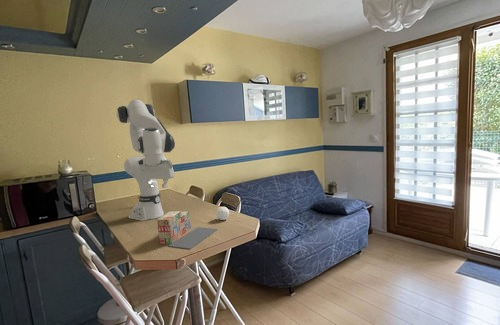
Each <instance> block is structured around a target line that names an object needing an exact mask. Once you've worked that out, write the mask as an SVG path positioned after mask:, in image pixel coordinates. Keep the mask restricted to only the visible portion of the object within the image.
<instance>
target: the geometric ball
mask: <svg viewBox="0 0 500 325" xmlns="http://www.w3.org/2000/svg"><path fill="white" fill-rule="evenodd" d="M215 216H216V218H217V219H218V220H219V221H226V219H227V220H228V218H229V216H230V210H229V209H228V207H226V206H220V207H218V208H217V209H216V212H215Z"/></svg>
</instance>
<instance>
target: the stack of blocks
mask: <svg viewBox="0 0 500 325" xmlns="http://www.w3.org/2000/svg"><path fill="white" fill-rule="evenodd" d="M189 212H190V211H181V210H177V211H176V210H175V211H173V210H171V211H168V212H166V213H164V215H163V216H161V217H158V218H156V219H157V220H156V221H157V230H158V239H159V245H170V244H172V243H173V242H175V241H177V240H178V239H180V238H181V237H183V236H184V235H185V233H186V232H188V231H189V230H190V229H191V218H190V213H189Z"/></svg>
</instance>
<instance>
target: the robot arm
mask: <svg viewBox="0 0 500 325" xmlns="http://www.w3.org/2000/svg"><path fill="white" fill-rule="evenodd" d="M116 118H117V119H118V121H119V122H120V123H122V124H127V123H128V124H129V123H130V124H129V135H130V136H129V137H130V141H131V145H132V149H133V150H134V151H135V152H136V153H139V154H141V155H139V156H133V157H129V158H126V159H125V161H124V164H123V168H124V171H125V173H127V174H128V175H130V176H131V177H132V178H134V179H135V181H136V182H137V184H138V188H139V194H140V196H138V197H137V199H139V201H138V202H137V203H136V204H135V205H134V206H133V207H132V209H131V214H129V215H128V218H129V219H130V220H137V221H141V222H142V221H147V220H153V219H154V220H155V219H159V218H160V217H162V216H163V215H165V212H164V210H163V207H162V203H161V194H160V190H159V183H158V181H157V180H162V181H163V183H162V184H161V187H162V189H163V188H167V184H168V182H169V179H170V180H171V179H174V178H175V172H174V171H175V170H174V168H173V167H174V166H173V163H172V161H171V160H169V159H167V158H166V156H165V155H164V153H171V152H172V151H173V150H174V149H175V147H176V146H175V144H176V143H175V139H174V137H173V136H172V135H171V133H169V131H167V129H166V127H165V126H164V125H163V123H162V121H161V120H160V119H159V118H158V117H157V116H155V108H154V107H153V106H152V104H149V103H144V102H143V101H142V100H140V99H132V100H130V101H129V103H128V105H121V106H118V108H117V109H116Z"/></svg>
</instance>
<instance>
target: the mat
mask: <svg viewBox="0 0 500 325" xmlns="http://www.w3.org/2000/svg"><path fill="white" fill-rule="evenodd" d="M217 231H218V228H212V227H201V226H198V227H196V228H194V229H193V230H191V231H189V232H188V233H186V234H184V235H182V236H181V237H180V238H179V239H177V240H176V241H175V242H173V243H172V244H167V246H168V247H170V248H178V249H185V250H191V249H193V248H194V247H195V246H197V245H198V244H199V243H201V242H203V241H204V240H206V238H209V237H210V236H211V235H213V234H214V233H215V232H217Z"/></svg>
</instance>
